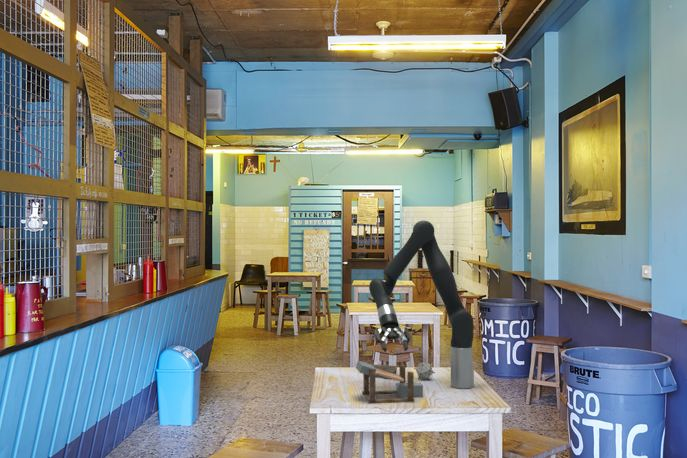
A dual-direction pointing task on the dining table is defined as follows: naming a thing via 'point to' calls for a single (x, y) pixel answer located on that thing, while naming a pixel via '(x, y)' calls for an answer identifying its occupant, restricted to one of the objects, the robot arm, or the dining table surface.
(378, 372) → the trapdoor
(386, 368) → the marble piece
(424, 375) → the game die
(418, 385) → the slate block
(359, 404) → the dining table surface
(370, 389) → the frame
